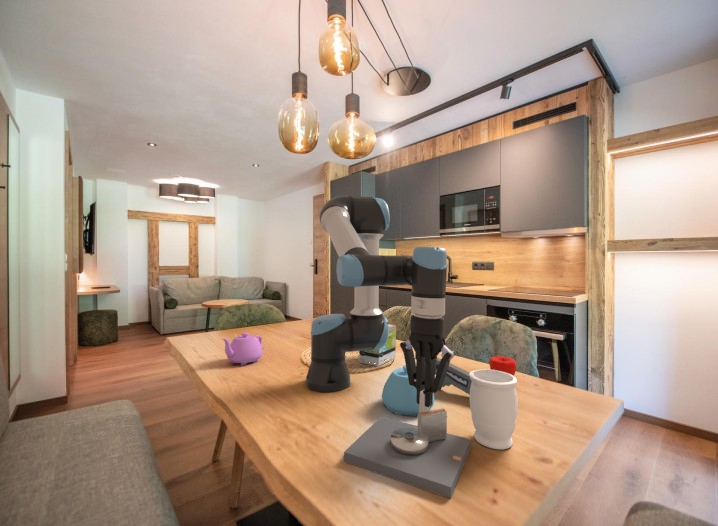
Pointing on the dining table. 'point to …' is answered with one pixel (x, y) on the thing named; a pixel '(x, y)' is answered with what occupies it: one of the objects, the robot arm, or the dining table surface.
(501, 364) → the apple
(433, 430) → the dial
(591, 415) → the dining table surface
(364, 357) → the tea box
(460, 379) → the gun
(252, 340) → the teapot
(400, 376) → the sugar bowl
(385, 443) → the board
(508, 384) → the jar
